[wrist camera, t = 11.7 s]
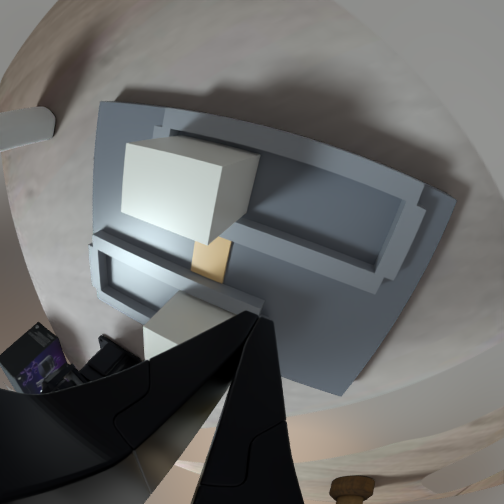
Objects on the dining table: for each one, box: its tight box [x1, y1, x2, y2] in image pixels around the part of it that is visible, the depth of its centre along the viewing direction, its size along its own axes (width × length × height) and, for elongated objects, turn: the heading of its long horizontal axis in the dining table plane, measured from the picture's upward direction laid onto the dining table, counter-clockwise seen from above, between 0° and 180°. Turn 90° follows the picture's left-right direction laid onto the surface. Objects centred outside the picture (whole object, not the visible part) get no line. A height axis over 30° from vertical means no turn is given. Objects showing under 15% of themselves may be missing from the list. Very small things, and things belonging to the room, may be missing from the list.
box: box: [0, 322, 69, 394], centre depth 37 cm, size 17×7×12 cm, turn 168°
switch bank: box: [88, 101, 457, 396], centre depth 19 cm, size 17×24×2 cm
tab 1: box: [121, 135, 260, 246], centre depth 14 cm, size 4×5×5 cm
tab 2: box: [143, 290, 237, 360], centre depth 19 cm, size 4×5×5 cm
